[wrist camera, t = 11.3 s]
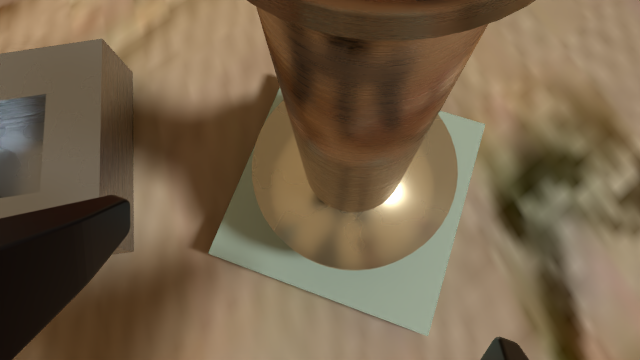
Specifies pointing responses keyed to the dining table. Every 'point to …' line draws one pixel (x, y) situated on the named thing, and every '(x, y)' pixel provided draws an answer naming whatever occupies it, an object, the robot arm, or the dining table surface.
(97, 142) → the bore block
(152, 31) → the dining table surface
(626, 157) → the dining table surface
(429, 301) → the pad
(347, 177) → the metallic flared cylinder
